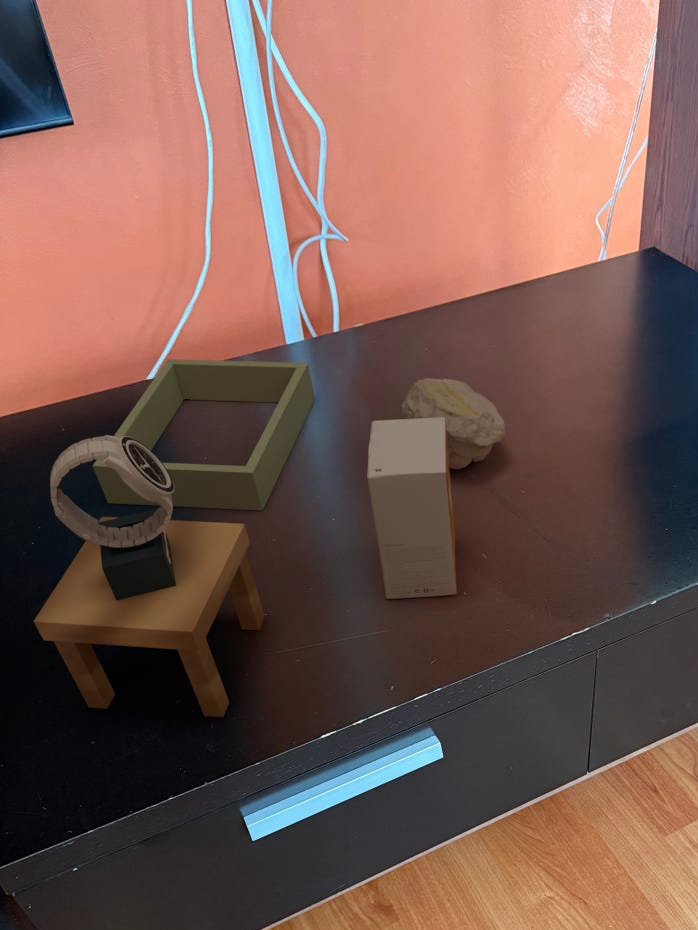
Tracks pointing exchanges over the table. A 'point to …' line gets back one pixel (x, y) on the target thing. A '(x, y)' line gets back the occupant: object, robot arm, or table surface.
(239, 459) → the table surface
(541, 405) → the table surface
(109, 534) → the watch
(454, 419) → the beige rock
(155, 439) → the olive green rectangular frame
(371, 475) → the small box
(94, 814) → the table surface
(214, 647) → the table surface
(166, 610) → the stool
